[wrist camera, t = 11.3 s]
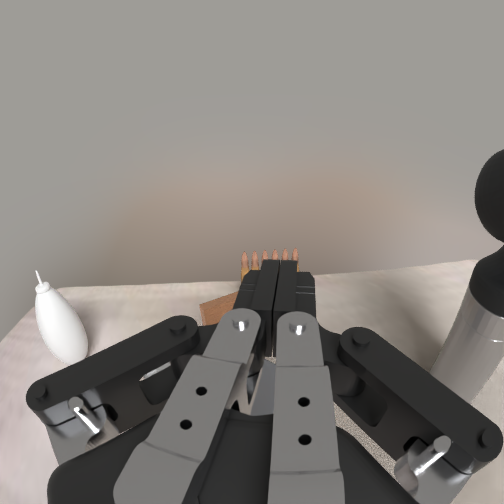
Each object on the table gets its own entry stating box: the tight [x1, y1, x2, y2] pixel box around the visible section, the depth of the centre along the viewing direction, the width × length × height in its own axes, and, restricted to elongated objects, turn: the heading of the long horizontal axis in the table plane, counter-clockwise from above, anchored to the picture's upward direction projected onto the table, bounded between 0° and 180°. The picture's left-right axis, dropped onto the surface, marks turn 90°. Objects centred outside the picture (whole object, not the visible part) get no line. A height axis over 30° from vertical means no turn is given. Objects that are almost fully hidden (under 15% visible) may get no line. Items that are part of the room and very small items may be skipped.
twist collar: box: [144, 292, 238, 379], centre depth 32 cm, size 16×7×10 cm, turn 121°
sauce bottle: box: [35, 270, 88, 365], centre depth 35 cm, size 8×8×18 cm
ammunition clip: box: [241, 248, 299, 283], centre depth 50 cm, size 11×2×12 cm, turn 95°
